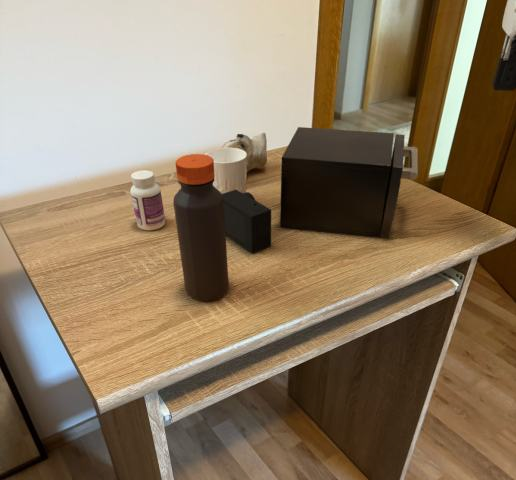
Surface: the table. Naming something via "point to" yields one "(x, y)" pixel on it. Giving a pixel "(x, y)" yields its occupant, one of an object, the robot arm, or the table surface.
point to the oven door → (397, 180)
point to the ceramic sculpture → (251, 149)
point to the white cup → (229, 169)
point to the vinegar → (201, 228)
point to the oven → (335, 181)
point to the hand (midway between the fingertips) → (503, 88)
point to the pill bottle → (147, 201)
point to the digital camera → (247, 221)
